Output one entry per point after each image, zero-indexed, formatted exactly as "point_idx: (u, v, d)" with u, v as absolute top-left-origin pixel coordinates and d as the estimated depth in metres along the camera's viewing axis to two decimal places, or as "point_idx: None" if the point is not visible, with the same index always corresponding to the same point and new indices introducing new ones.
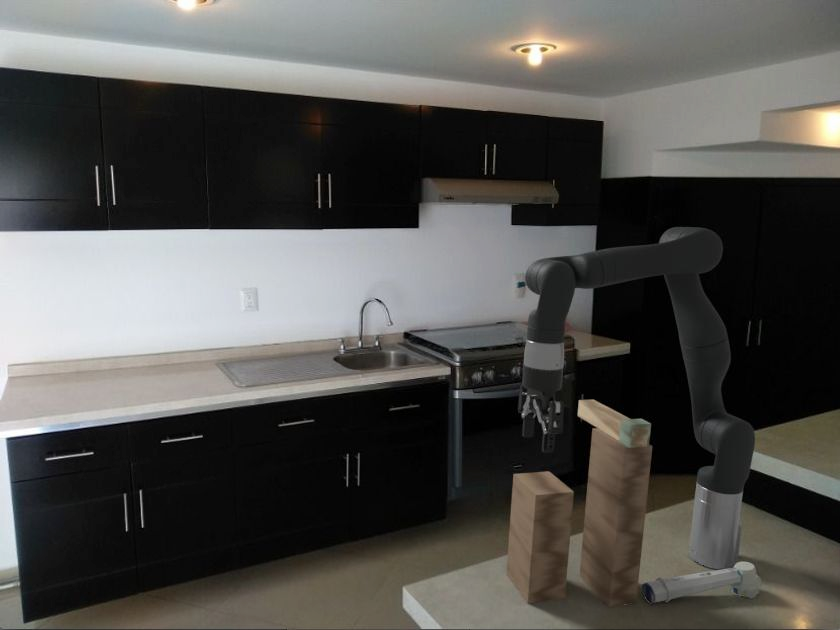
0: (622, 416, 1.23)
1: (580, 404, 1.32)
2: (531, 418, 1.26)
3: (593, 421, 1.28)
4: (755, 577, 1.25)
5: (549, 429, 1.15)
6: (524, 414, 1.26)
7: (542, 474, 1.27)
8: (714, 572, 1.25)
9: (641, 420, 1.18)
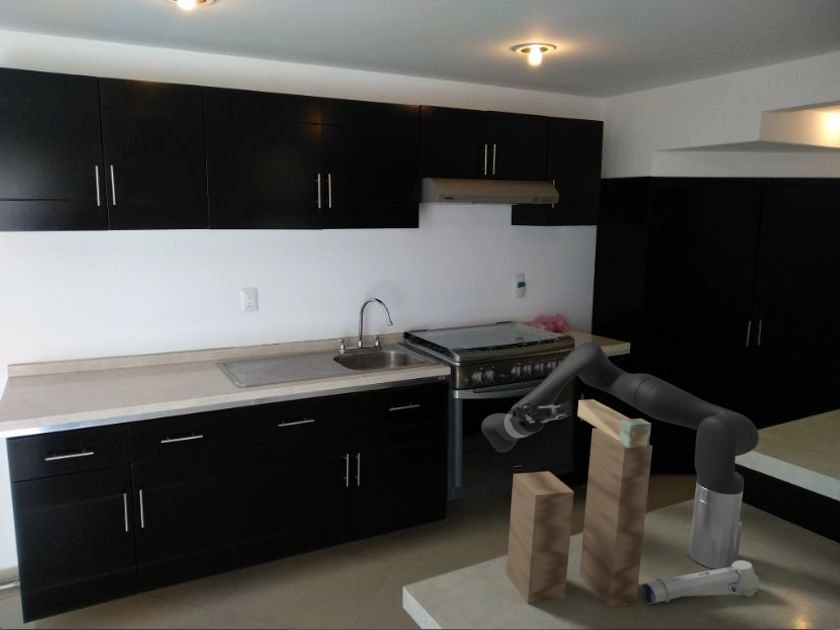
0: (622, 416, 1.23)
1: (580, 404, 1.32)
2: (561, 407, 1.48)
3: (593, 421, 1.28)
4: (753, 576, 1.26)
5: (518, 418, 1.46)
6: (560, 415, 1.48)
7: (542, 474, 1.27)
8: (712, 571, 1.25)
9: (641, 420, 1.18)
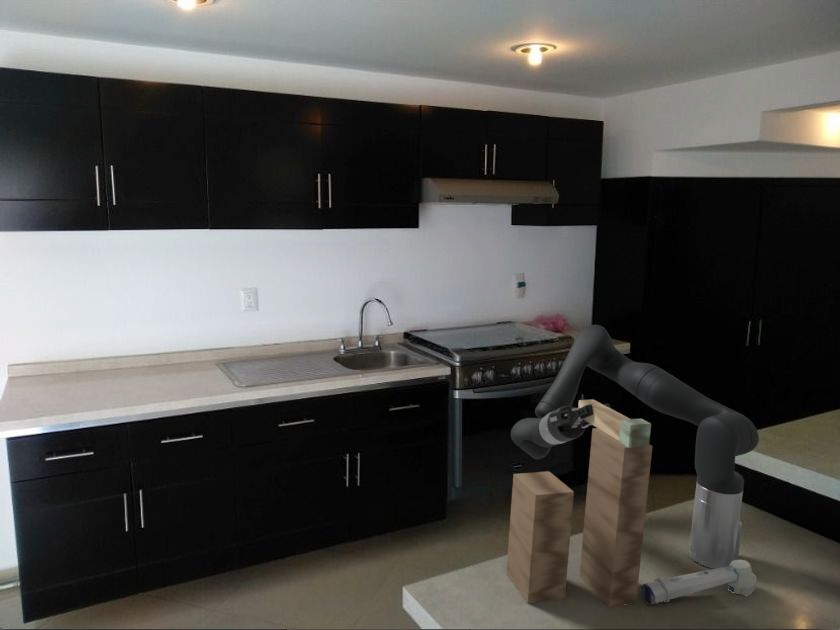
0: (622, 416, 1.23)
1: (580, 404, 1.32)
2: None
3: (593, 421, 1.28)
4: (751, 575, 1.26)
5: (570, 421, 1.32)
6: None
7: (542, 474, 1.27)
8: (711, 571, 1.25)
9: (641, 420, 1.18)
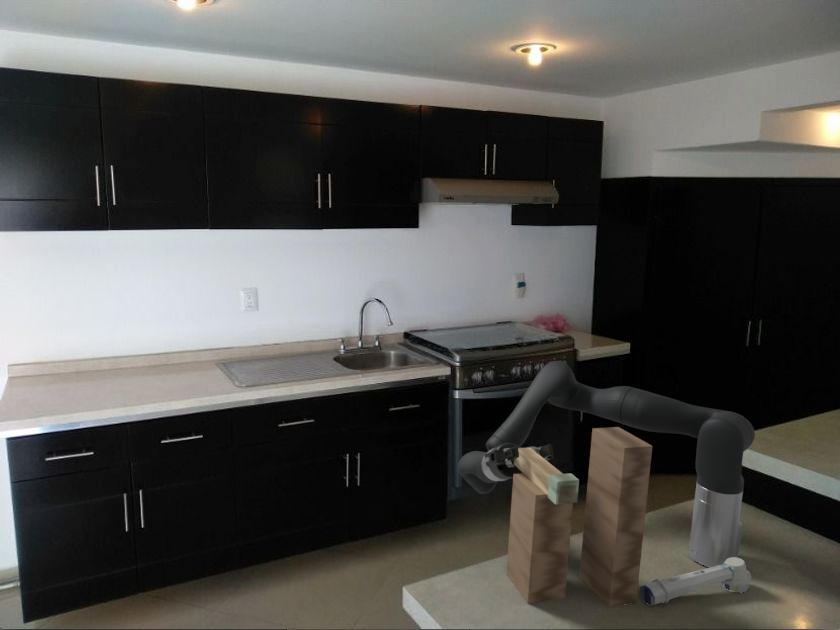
0: (553, 469, 1.21)
1: None
2: (541, 450, 1.31)
3: (527, 472, 1.25)
4: (745, 572, 1.27)
5: None
6: None
7: None
8: (707, 570, 1.26)
9: (570, 475, 1.15)
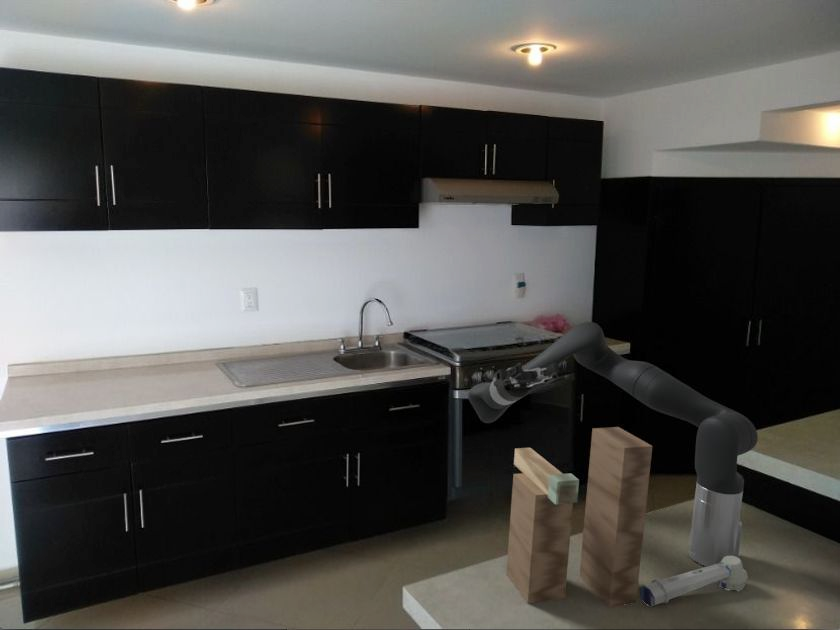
0: (553, 469, 1.21)
1: (516, 453, 1.30)
2: (546, 370, 1.42)
3: (527, 472, 1.25)
4: (742, 570, 1.28)
5: (502, 380, 1.40)
6: (546, 378, 1.43)
7: None
8: (705, 569, 1.26)
9: (570, 475, 1.15)
